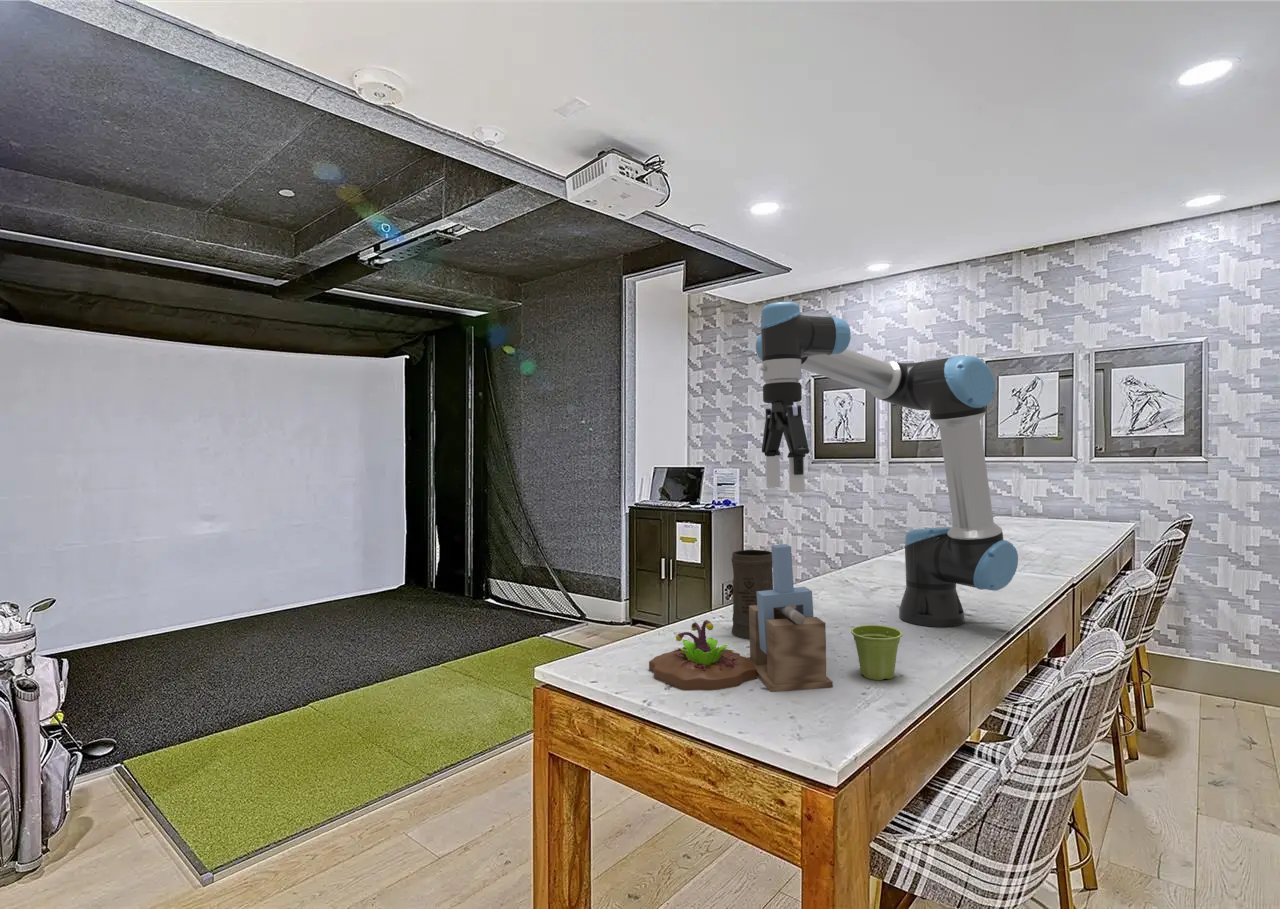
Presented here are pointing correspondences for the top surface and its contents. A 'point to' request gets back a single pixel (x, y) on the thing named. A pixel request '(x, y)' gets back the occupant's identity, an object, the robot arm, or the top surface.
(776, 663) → the stand
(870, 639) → the plant pot
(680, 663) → the plant
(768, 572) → the beer stein
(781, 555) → the light blue forked piece
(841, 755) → the top surface
